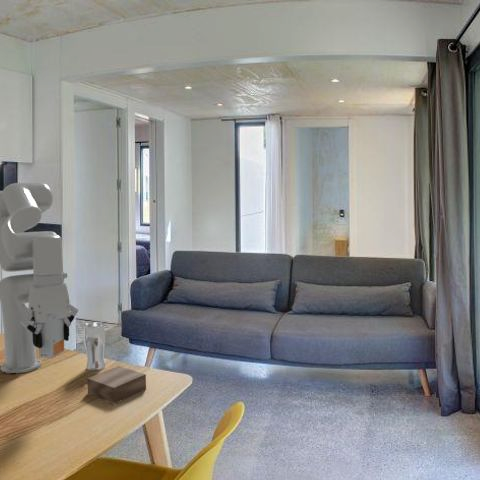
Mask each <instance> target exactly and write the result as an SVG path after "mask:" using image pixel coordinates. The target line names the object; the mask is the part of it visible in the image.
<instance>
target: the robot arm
mask: <svg viewBox="0 0 480 480" xmlns="http://www.w3.org/2000/svg"><path fill="white" fill-rule="evenodd" d="M53 199H54V197H53V193H52V189H51V188H50V187H49V186H48V184H46V183H41V182H14V183H11V184H8V185H6V186H5V187H4V188H3V190H0V268H1V269H2V270H3V272H8V273H9V272H10V273H11V272H12V273H13V272H24V271H33V273H25V274H16V275H15V274H14V275H10V276H7V277H3V278H2V279H0V307H1V313H2V324H3V339H4V340H3V342H4V358H5V360H4V361H5V362H4V363H3V364H1V366H0V371H1V372H2V373H4V372H5V374H10V373H16V374H23V373H28V372H32V371H35V370H37V369H39V367H41V365H42V360H41V359H39V358H37V348H38V349H39V348H42V334H41V333H40V330H41V327H42V325H43V324H44V323H46V322H47V316H48V315H53V314H56V318H57V320H61V319H62V320H63V322H64V342H65V341H66V342H67V341H69V337H70V327H71V325H72V323H73V321H74V320H75V317H76V315H77V314H78V312H79V309H78V308H77V307H75V306H73V305H72V304H71V303H70V302H71V301H70V297H69V296H70V295H69V292H68V291H69V290H68V287H67V284H66V282H65V279H67V278H68V273H67V272H66V273H65V272H64V264H63V263H64V261H63V258H64V257H63V242H62V241H63V239H62V237H61V236H60V235H58V234H57V233H56V232H54V231H51V230H49V231H48V230H46V231H45V230H44V231H28V230H30V229H33V228H34V227H36V226H37V225H38V224H39V223H40V222H41V219H42V214H43V213H44V212H47V211H48V210H49V209H50V208H51V207H52V205H53ZM26 231H28V232H26ZM27 303H28V307H27V306H26V304H27Z"/></svg>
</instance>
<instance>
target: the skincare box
mask: <svg viewBox="0 0 480 480" xmlns="http://www.w3.org/2000/svg"><path fill="white" fill-rule="evenodd" d="M40 333H41V334H42V348H38V357H39V358H41V359H42V358H44V359H54V358H55V357H57V356H59V355H60V354H62V353H65V340H64V322H63V320H62V319H61V320H57V318H56V314H53V315H48V316H47V322H46V323H44V324H43V325H42V327H41V330H40Z"/></svg>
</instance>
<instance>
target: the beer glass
mask: <svg viewBox="0 0 480 480" xmlns="http://www.w3.org/2000/svg"><path fill="white" fill-rule="evenodd" d="M83 342H84V348H85V352H86V358H87V359H86V370H88V371H92V372H93V371H101V370H103V369H105V368H106V363H105V359H104V358H105V357H104V353H105V346H106V345H105V344H106V328H105V323H104V322H102V321H92V322H87V323H85V324H84V325H83Z"/></svg>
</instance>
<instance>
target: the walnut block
mask: <svg viewBox="0 0 480 480" xmlns="http://www.w3.org/2000/svg"><path fill="white" fill-rule="evenodd" d="M146 377H147V375H146V373H143V372H140V371H136V370H133V369H129V368H127V367H124V366H123V367H122V366H115V367H114V368H111V369H108V370H105V371H102V372H100V373H97V374H95V375H92V376H90V377H87V378H86V379H87V380H86V383H87V394H89V395H90V396H94V397H96V398H99V399H101V400H104V401H106V402H109V403H112V404H114V405H115V404H117V403H119V402H121V401H124V400H126V399H128V398H130V397H133V396H135V395H136V393H137V394H139V393H142V392H143V391H142V390H144V391H145V389H146V390H147V378H146ZM138 392H139V393H138ZM134 394H135V395H134ZM132 395H133V396H132Z"/></svg>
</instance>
